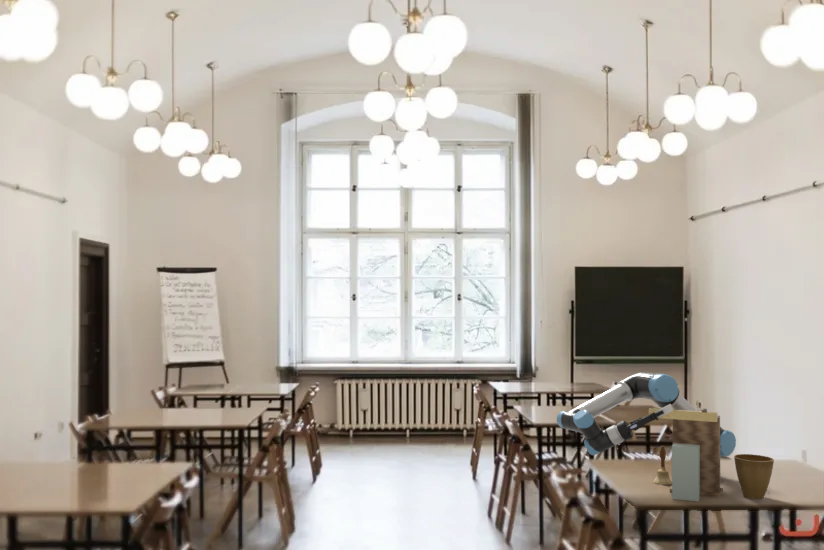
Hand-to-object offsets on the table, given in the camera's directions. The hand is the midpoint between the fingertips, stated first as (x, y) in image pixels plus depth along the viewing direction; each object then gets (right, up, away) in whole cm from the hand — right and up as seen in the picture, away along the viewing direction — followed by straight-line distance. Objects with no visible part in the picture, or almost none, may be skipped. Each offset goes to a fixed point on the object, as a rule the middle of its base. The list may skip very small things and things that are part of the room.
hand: (671, 407), depth 322 cm
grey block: (+5, -36, -4) cm, 36 cm away
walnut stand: (+13, -36, +8) cm, 40 cm away
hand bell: (+4, -37, +25) cm, 45 cm away
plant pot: (+33, -37, 0) cm, 49 cm away
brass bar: (+4, -5, -2) cm, 6 cm away
